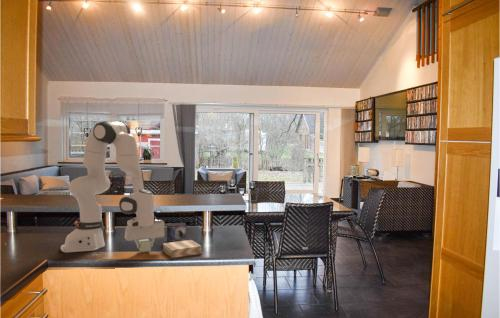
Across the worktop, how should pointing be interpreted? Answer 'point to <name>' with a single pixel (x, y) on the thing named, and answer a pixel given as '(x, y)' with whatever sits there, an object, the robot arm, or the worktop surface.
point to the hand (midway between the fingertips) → (144, 247)
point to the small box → (176, 232)
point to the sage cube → (145, 245)
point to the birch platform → (181, 248)
